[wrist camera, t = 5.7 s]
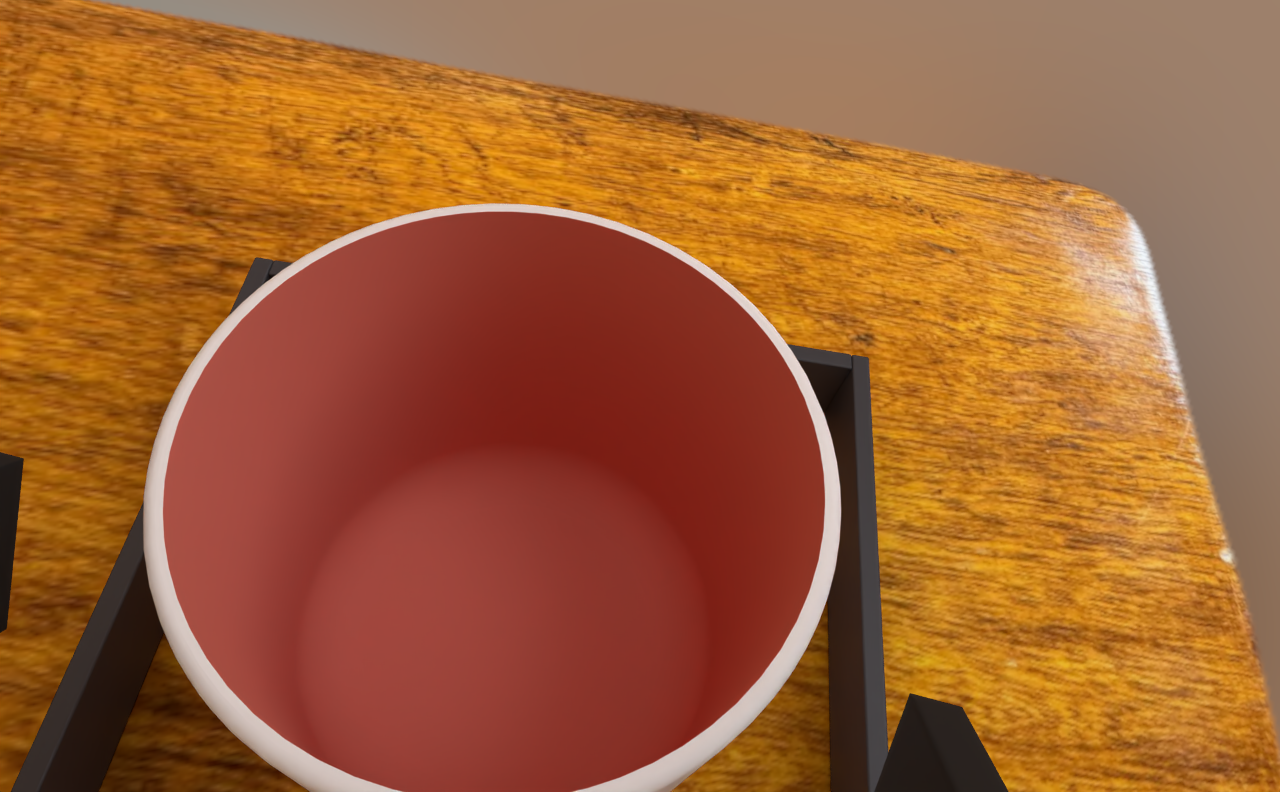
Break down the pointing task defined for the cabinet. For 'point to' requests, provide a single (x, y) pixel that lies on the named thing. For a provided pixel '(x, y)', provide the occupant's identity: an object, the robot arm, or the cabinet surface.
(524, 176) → the cabinet surface
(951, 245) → the cabinet surface
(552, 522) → the cup
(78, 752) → the square frame
